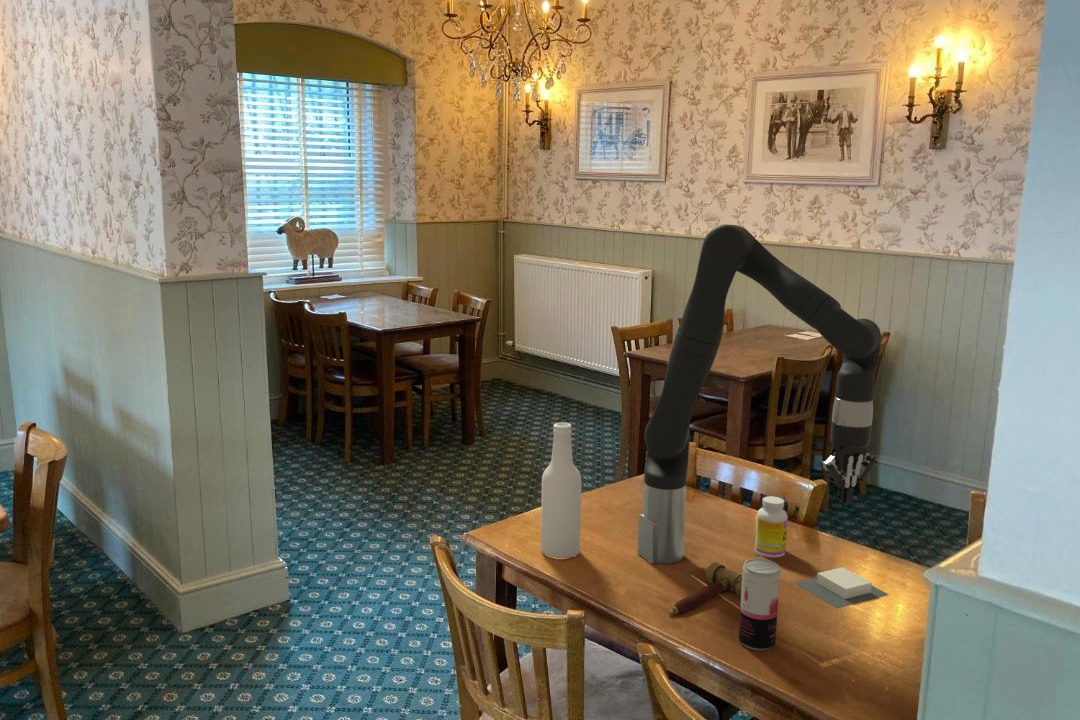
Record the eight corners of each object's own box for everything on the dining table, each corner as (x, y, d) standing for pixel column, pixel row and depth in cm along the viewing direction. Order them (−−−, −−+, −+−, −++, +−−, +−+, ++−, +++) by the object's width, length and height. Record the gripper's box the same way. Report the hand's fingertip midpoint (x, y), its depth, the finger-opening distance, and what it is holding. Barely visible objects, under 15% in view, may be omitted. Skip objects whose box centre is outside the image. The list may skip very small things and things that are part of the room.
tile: (845, 589, 177) (871, 582, 180) (817, 573, 184) (842, 567, 187) (844, 599, 178) (870, 593, 181) (816, 583, 185) (842, 577, 188)
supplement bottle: (785, 561, 197) (789, 506, 194) (755, 558, 198) (758, 504, 196) (783, 549, 203) (787, 495, 201) (754, 546, 205) (757, 493, 202)
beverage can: (781, 649, 160) (787, 572, 157) (747, 653, 159) (752, 575, 156) (765, 631, 166) (770, 556, 163) (732, 634, 165) (737, 559, 162)
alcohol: (587, 551, 201) (590, 424, 195) (563, 564, 194) (565, 432, 188) (557, 541, 206) (559, 416, 200) (533, 553, 200) (534, 424, 193)
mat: (836, 610, 174) (836, 608, 174) (794, 585, 185) (794, 583, 185) (888, 597, 180) (888, 594, 180) (845, 573, 191) (845, 571, 191)
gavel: (689, 612, 167) (650, 593, 175) (689, 634, 168) (650, 614, 176) (758, 575, 180) (719, 558, 188) (757, 595, 181) (718, 578, 189)
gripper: (862, 412, 181) (855, 492, 185) (812, 418, 176) (805, 501, 179) (891, 421, 175) (883, 504, 178) (840, 428, 169) (832, 514, 173)
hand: (844, 503), depth 179 cm, fingers closed
